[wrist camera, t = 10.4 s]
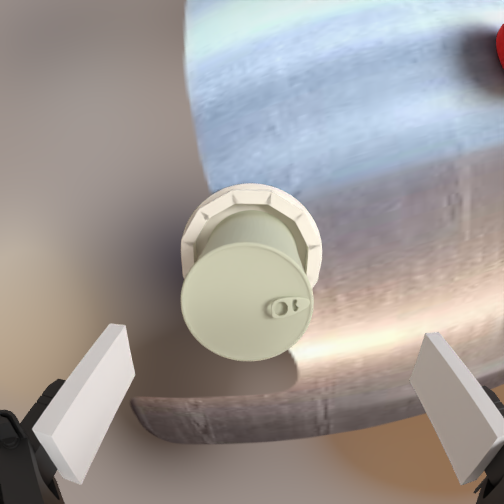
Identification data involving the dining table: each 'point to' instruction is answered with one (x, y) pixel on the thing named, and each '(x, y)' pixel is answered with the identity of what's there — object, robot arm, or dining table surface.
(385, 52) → the dining table surface
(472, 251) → the dining table surface
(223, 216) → the saucer
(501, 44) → the tomato
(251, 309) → the can
